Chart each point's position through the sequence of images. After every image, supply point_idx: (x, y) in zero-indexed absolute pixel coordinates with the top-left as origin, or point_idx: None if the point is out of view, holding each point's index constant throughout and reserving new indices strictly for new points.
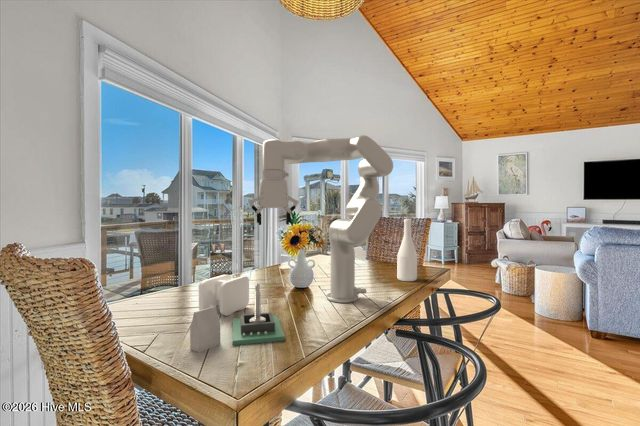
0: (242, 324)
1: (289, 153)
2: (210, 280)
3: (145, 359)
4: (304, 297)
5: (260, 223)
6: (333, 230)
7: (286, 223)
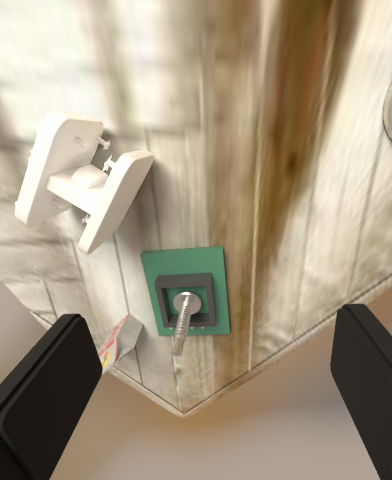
0: (165, 324)
1: None
2: (33, 206)
3: None
4: (318, 69)
5: (93, 381)
6: None
7: (335, 356)
